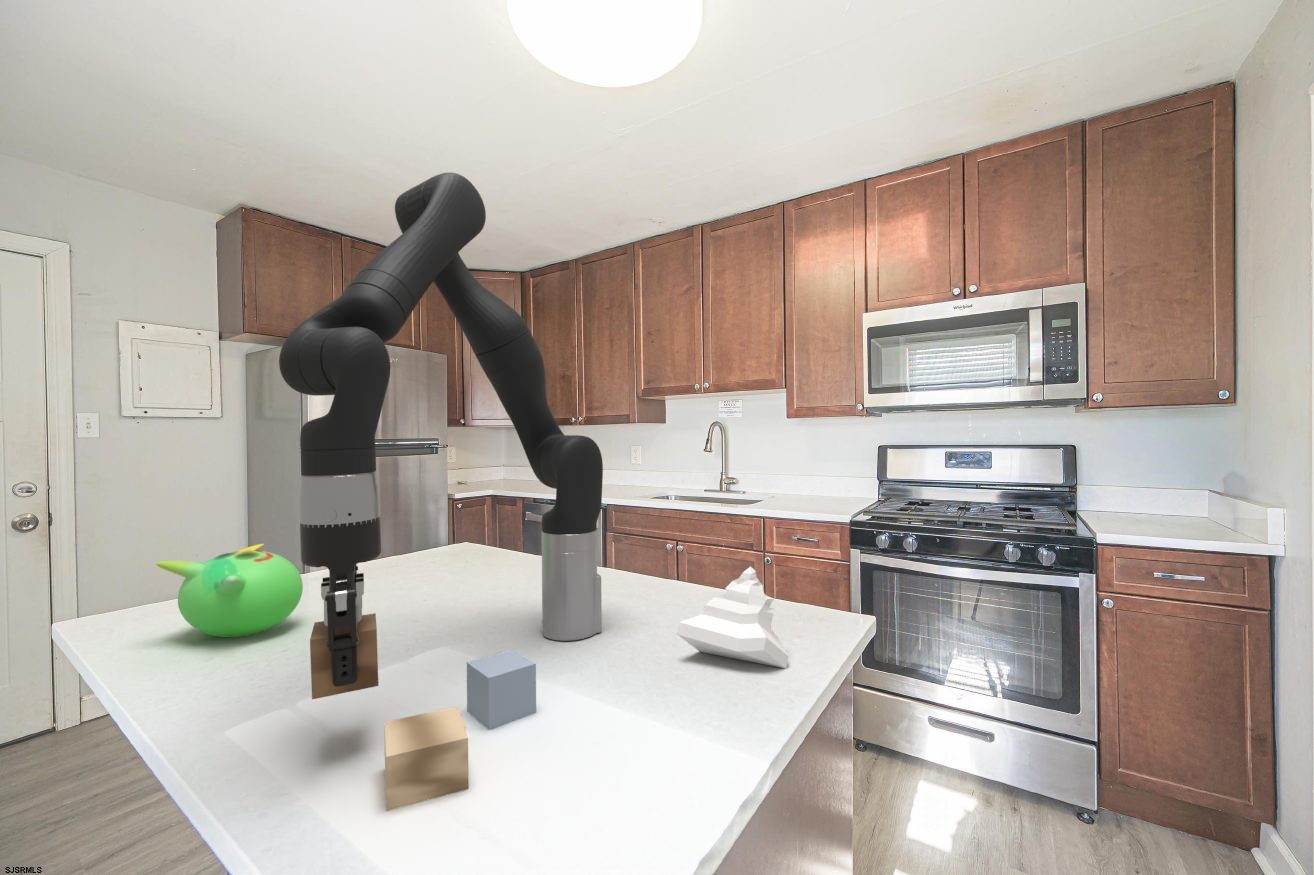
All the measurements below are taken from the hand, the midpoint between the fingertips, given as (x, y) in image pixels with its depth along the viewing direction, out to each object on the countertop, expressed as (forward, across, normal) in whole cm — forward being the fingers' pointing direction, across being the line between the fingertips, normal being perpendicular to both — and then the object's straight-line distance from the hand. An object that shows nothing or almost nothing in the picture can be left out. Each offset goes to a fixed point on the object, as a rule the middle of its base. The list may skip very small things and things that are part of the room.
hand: (346, 671), depth 61 cm
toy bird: (+8, +48, +17) cm, 52 cm away
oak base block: (+8, -10, -7) cm, 15 cm away
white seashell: (+9, 0, -52) cm, 52 cm away
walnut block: (+1, 0, 0) cm, 1 cm away
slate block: (+9, 0, -16) cm, 18 cm away
